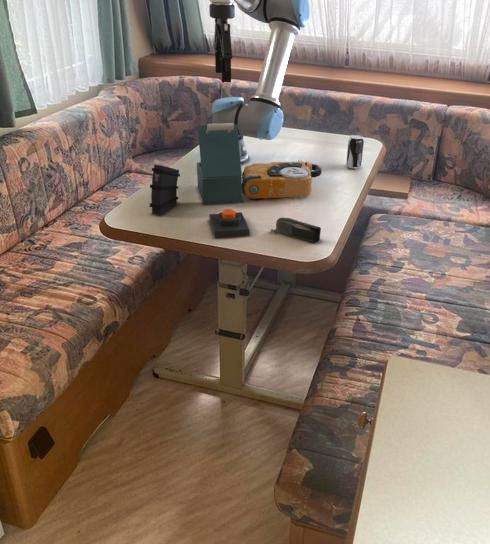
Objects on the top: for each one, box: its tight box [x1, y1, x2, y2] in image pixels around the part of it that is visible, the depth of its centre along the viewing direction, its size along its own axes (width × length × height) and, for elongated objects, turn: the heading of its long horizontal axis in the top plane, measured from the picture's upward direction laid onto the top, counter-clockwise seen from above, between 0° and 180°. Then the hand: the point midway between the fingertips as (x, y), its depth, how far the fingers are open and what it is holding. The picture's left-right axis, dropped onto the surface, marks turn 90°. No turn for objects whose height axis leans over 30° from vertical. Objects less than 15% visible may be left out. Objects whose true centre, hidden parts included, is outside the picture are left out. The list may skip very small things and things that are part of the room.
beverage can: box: [345, 134, 365, 170], centre depth 219 cm, size 6×6×12 cm
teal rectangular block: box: [196, 161, 243, 206], centre depth 192 cm, size 16×13×9 cm
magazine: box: [149, 164, 181, 217], centre depth 180 cm, size 4×13×15 cm, turn 160°
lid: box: [197, 123, 243, 178], centre depth 179 cm, size 16×13×8 cm
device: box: [241, 159, 323, 200], centre depth 199 cm, size 23×8×30 cm
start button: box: [221, 208, 237, 219], centre depth 170 cm, size 4×4×2 cm
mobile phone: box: [270, 217, 322, 243], centre depth 167 cm, size 5×3×15 cm
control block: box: [208, 211, 250, 239], centre depth 171 cm, size 12×10×4 cm
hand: (223, 77), depth 182 cm, fingers open, 13 cm apart
